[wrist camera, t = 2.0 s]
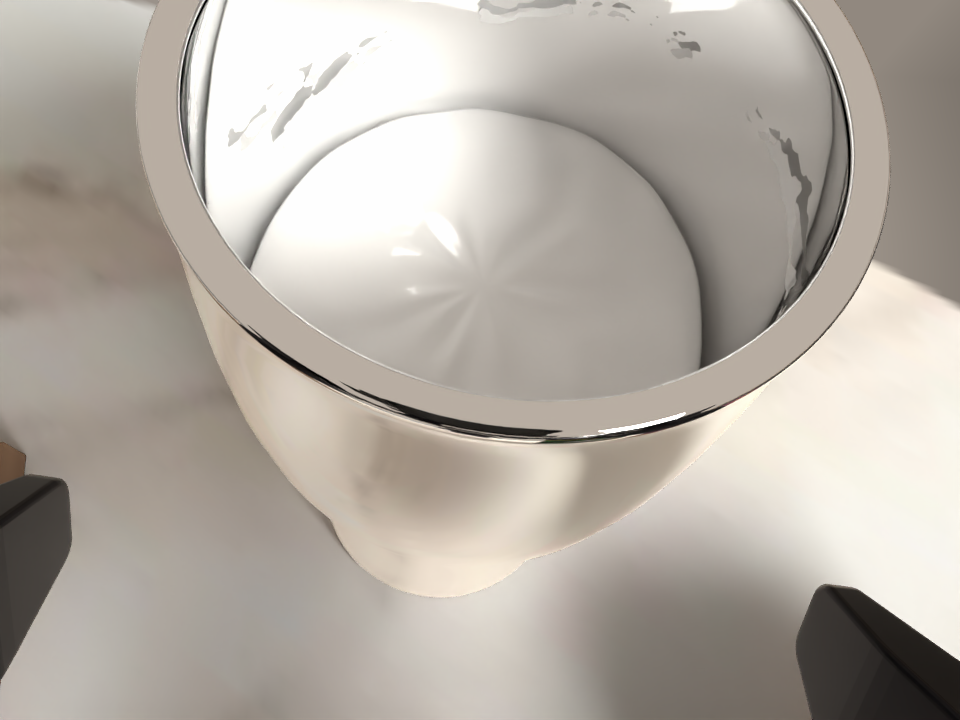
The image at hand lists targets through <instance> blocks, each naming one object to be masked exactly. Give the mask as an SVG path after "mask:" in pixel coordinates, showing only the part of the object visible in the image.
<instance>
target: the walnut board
mask: <svg viewBox="0 0 960 720" xmlns="http://www.w3.org/2000/svg"><path fill="white" fill-rule="evenodd" d="M25 460H26V455H25V454H23V453H21V452H20V451H18V450H16V449H15V448H13V447H11V446H9V445H8V444H6V443H4V442H0V484H2V483H5V482H8V481H10V480H13V479H16V478H18V477H21V476H24V469H25ZM0 683H1V680H0Z"/></svg>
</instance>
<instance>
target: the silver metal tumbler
mask: <svg viewBox="0 0 960 720" xmlns="http://www.w3.org/2000/svg"><path fill="white" fill-rule="evenodd" d="M136 125H137V135H138V143H139V149H140V155H141V160H142V164H143V168H144V173H145V176H146V180H147V183H148V186H149V189H150V192H151V195H152V198H153V200H154V203H155V206H156V208H157V211H158V213H159V215H160V217H161V220H162V222H163V224H164V226H165V228H166V230H167V232H168V234H169V236H170V238H171V239H172V241H173V243H174V245H175V246H176V248H177V250H178V252H179V255H180V258H181V262H182V265H183V268H184V271H185V274H186V277H187V280H188V284H189V287H190V290H191V293H192V296H193V299H194V302H195V305H196V307H197V310H198V313H199V316H200V318H201V321H202V324H203V326H204V329H205V332H206V335H207V337H208V340H209V343H210V345H211V348H212V350H213V353H214V356H215V358H216V360H217V362H218V365H219V367H220V369H221V371H222V373H223V375H224V377H225V379H226V382H227V384H228V386H229V388H230V390H231V392H232V394H233V396H234V398H235V400H236V402H237V404H238V406H239V408H240V410H241V412H242V414H243V416H244V418H245V419H246V421H247V423H248V425H249V426H250V428H251V430H252V431H253V433H254V434H255V436H256V437H257V439H258V440H259V442H260V443H261V444H262V446H263V447H264V448H265V450H266V451H267V452H268V454H269V455H270V456H271V458H272V459H273V460H274V462H275V463H276V464H277V466H278V467H279V468H280V470H281V471H282V472H283V474H284V475H285V476H286V477H287V479H288V480H289V481H290V482H291V483H292V485H293V486H294V487H295V488H296V489H297V490H298V491H299V492H300V493H301V494H302V495H303V496H304V497H305V498H306V499H307V500H308V501H309V502H310V503H311V504H312V505H314V506H315V507H316V508H317V509H318V510H319V511H321V512H322V513H323V514H324V515H326V516H327V517H328V518H330V520H331V523H332V525H333V528H334V530H335V532H336V534H337V536H338V538H339V540H340V541H341V543H342V545H343V546H344V548H345V549H346V550H347V552H348V553H349V554H350V556H351V557H352V558H353V559H354V560H355V561H356V562H357V563H358V564H359V565H360V566H361V567H362V568H363V569H364V570H365V571H367V572H368V573H369V574H370V575H372V576H373V577H375V578H376V579H378V580H379V581H381V582H383V583H384V584H386V585H388V586H390V587H392V588H395V589H397V590H400V591H403V592H406V593H409V594H413V595H417V596H423V597H432V598H449V597H458V596H464V595H468V594H472V593H476V592H479V591H481V590H484V589H486V588H489V587H491V586H493V585H495V584H497V583H498V582H500V581H502V580H503V579H505V578H506V577H508V576H509V575H510V574H512V573H513V572H514V571H515V570H517V569H518V568H519V567H520V566H521V565H522V564H523V563H524V562H525V561H527V560H531V559H535V558H539V557H543V556H546V555H549V554H552V553H555V552H558V551H561V550H563V549H566V548H568V547H570V546H573V545H575V544H577V543H579V542H581V541H583V540H585V539H587V538H589V537H590V536H592V535H594V534H596V533H598V532H600V531H601V530H603V529H605V528H607V527H609V526H610V525H612V524H614V523H616V522H618V521H619V520H621V519H623V518H624V517H626V516H628V515H629V514H631V513H632V512H634V511H635V510H637V509H638V508H640V507H641V506H642V505H644V504H645V503H646V502H648V501H649V500H650V499H651V498H653V497H654V496H655V495H656V494H658V493H659V492H660V491H661V490H662V489H664V488H665V487H666V486H667V485H668V484H670V483H671V482H672V481H673V480H674V479H676V478H677V477H678V476H679V475H680V474H682V473H683V472H684V471H685V470H686V469H687V468H689V467H690V466H691V465H692V464H693V463H694V462H695V461H696V460H697V459H698V458H699V457H700V456H701V455H702V454H703V453H704V452H705V451H706V450H707V449H708V448H709V447H710V446H711V445H712V444H713V443H714V442H715V441H716V440H717V439H718V438H719V437H720V436H721V435H722V434H723V433H724V432H725V431H726V430H727V429H728V428H729V427H730V426H731V425H732V424H733V423H734V422H735V421H736V420H737V419H738V418H739V417H740V416H741V415H742V414H743V413H744V411H745V410H746V409H747V408H748V407H749V406H750V405H751V404H752V403H753V401H754V400H755V399H756V398H757V397H758V396H759V395H760V394H761V393H762V391H763V390H764V389H765V388H766V387H767V386H768V385H769V384H770V383H771V382H772V380H774V379H775V378H777V377H778V376H780V375H781V374H782V373H783V372H785V371H786V370H787V369H788V368H790V367H791V366H792V365H794V364H795V363H796V362H797V361H798V360H799V359H800V358H802V357H803V356H804V355H805V354H806V353H807V352H808V351H809V350H810V349H811V348H812V347H813V346H814V345H815V344H816V343H817V342H818V341H819V340H820V339H821V338H822V337H823V336H824V335H825V334H826V333H827V331H828V330H829V329H830V328H831V327H832V326H833V324H834V323H835V322H836V320H837V319H838V318H839V317H840V315H841V314H842V312H843V311H844V310H845V308H846V307H847V305H848V304H849V302H850V301H851V299H852V297H853V296H854V294H855V292H856V291H857V289H858V287H859V286H860V284H861V282H862V280H863V278H864V276H865V274H866V272H867V270H868V268H869V266H870V263H871V261H872V259H873V257H874V254H875V251H876V248H877V246H878V243H879V240H880V236H881V233H882V230H883V225H884V221H885V217H886V212H887V206H888V200H889V191H890V178H891V157H890V142H889V133H888V126H887V120H886V115H885V109H884V105H883V101H882V97H881V93H880V90H879V87H878V83H877V80H876V78H875V75H874V72H873V69H872V67H871V64H870V62H869V60H868V57H867V55H866V53H865V51H864V48H863V46H862V44H861V42H860V40H859V38H858V36H857V35H856V33H855V31H854V29H853V27H852V26H851V24H850V22H849V21H848V19H847V17H846V16H845V15H844V13H843V11H842V10H841V8H840V7H839V5H838V4H837V2H836V1H835V0H159V2H158V4H157V6H156V8H155V11H154V13H153V15H152V18H151V21H150V23H149V26H148V29H147V32H146V36H145V39H144V43H143V47H142V52H141V56H140V61H139V67H138V74H137V84H136Z"/></svg>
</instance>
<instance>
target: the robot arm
mask: <svg viewBox="0 0 960 720" xmlns="http://www.w3.org/2000/svg"><path fill="white" fill-rule="evenodd" d="M71 542H72V530H71V515H70V499H69V490H68V486H67V484H66V482H65V481H63V480H62V479H60V478H55V477H48V476H41V475H33V474H29V475H24V476H21V477H18V478H16V479H13V480H10V481H8V482H5V483H2V484H0V680H1V679H2V677H3V676H4V674H5V672H6V671H7V669H8V667H9V665H10V664H11V662H12V660H13V658H14V657H15V655H16V653H17V651H18V649H19V647H20V646H21V644H22V642H23V640H24V638H25V636H26V634H27V632H28V630H29V629H30V627H31V625H32V623H33V621H34V619H35V617H36V615H37V614H38V612H39V610H40V608H41V606H42V604H43V602H44V600H45V599H46V597H47V595H48V593H49V591H50V589H51V587H52V585H53V583H54V582H55V580H56V578H57V576H58V574H59V572H60V570H61V568H62V567H63V565H64V563H65V561H66V559H67V557H68V554H69V551H70V547H71ZM796 655H797V660H798V664H799V668H800V672H801V676H802V680H803V684H804V689H805V693H806V697H807V701H808V705H809V709H810V713H811V717H812V720H960V661H959V660H957V659H956V658H954V657H953V656H951V655H950V654H949V653H947V652H946V651H944V650H943V649H942V648H940V647H939V646H937V645H936V644H935V643H933V642H932V641H930V640H929V639H928V638H926V637H925V636H923V635H922V634H920V633H919V632H918V631H916V630H915V629H913V628H912V627H911V626H909V625H908V624H906V623H905V622H904V621H902V620H901V619H899V618H898V617H896V616H895V615H894V614H892V613H891V612H889V611H888V610H887V609H885V608H884V607H882V606H881V605H880V604H878V603H877V602H875V601H874V600H872V599H871V598H870V597H868V596H867V595H865V594H864V593H863V592H861V591H860V590H858V589H856V588H853V587H846V586H839V585H831V584H824V585H821V586H819V587H818V589H817V590H816V591H815V593H814V595H813V598H812V600H811V602H810V605H809V607H808V610H807V612H806V615H805V617H804V620H803V622H802V625H801V627H800V630H799V632H798V635H797V640H796Z"/></svg>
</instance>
